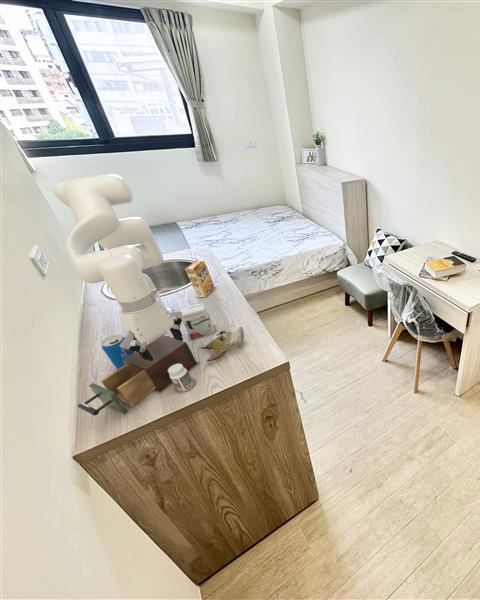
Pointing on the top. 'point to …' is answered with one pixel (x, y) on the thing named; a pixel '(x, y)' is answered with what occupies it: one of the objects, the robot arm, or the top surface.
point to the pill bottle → (180, 377)
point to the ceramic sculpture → (224, 343)
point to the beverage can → (116, 350)
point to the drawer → (120, 389)
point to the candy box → (200, 278)
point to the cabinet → (163, 359)
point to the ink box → (197, 321)
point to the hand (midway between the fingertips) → (164, 349)
